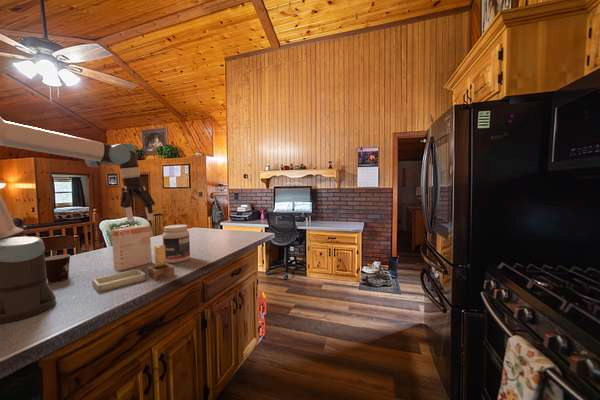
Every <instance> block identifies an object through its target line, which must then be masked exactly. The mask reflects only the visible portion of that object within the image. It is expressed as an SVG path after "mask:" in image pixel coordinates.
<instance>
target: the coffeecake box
mask: <svg viewBox="0 0 600 400" xmlns="http://www.w3.org/2000/svg"><path fill="white" fill-rule="evenodd" d="M150 228H151V227H150V225H146V224H142V225H135V226H134V225H133V226H127V227H120V228H113V229H111V244H112V245H111V247H112V258H113V259H112V260H113V269H114V270H117V271H123V270H127V269H131V268H135V267H138V266H143V265H148V264H151V263H153V256H152V245H151V244H152V243H151V230H150Z"/></svg>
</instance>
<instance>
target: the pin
mask: <svg viewBox="0 0 600 400" xmlns="http://www.w3.org/2000/svg"><path fill="white" fill-rule="evenodd" d="M153 249H154V262H155V264H154V266H156V269H161V268H165V267H166V263H167V262H166V258H165V246H163V245H157V246H154V247H153Z"/></svg>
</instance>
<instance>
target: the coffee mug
mask: <svg viewBox="0 0 600 400" xmlns="http://www.w3.org/2000/svg"><path fill="white" fill-rule="evenodd" d="M70 257H71V254H59V255H52V256H51V255H50V256H47V257H45V263H46V277H47V283H48V284H54V283H55V284H56V283H59V282H63V281H66V280H68V279H69V274H70V273H69V272H70V262H71V261H70V260H71V259H70Z"/></svg>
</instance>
